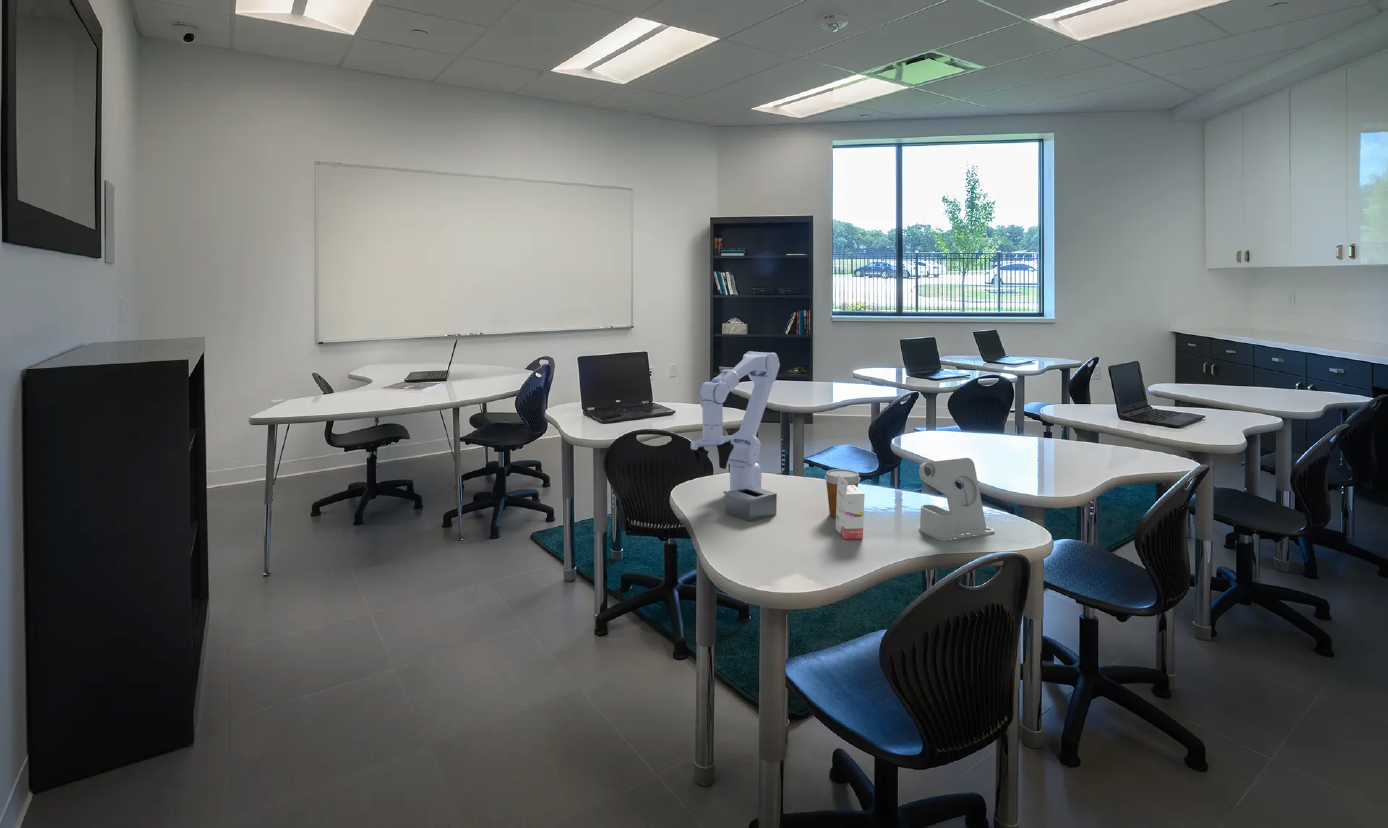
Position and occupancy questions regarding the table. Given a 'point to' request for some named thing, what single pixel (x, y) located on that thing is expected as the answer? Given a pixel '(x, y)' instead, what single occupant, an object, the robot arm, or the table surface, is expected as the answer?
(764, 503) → the box
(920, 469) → the grey mounting bracket
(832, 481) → the disposable coffee cup
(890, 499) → the table surface
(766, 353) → the robot arm
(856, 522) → the ink cartridge box
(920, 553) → the table surface
